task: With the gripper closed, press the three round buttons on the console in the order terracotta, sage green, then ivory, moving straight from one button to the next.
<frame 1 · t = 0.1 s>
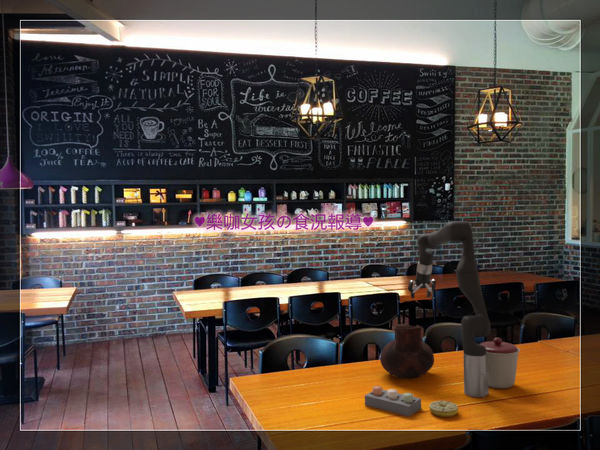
hand: (420, 297, 278), 31 cm above the table, tool tilted 20°, fingers open, 8 cm apart
console: (392, 406, 212), on the table
jug: (407, 375, 250), on the table
terracotta button: (377, 392, 216), point 4 cm above the table, slide at 0.0 cm
ivory button: (392, 396, 211), point 4 cm above the table, slide at 0.0 cm
sage button: (408, 399, 207), point 4 cm above the table, slide at 0.0 cm
canister: (498, 385, 233), on the table
decorated donut: (443, 413, 204), on the table
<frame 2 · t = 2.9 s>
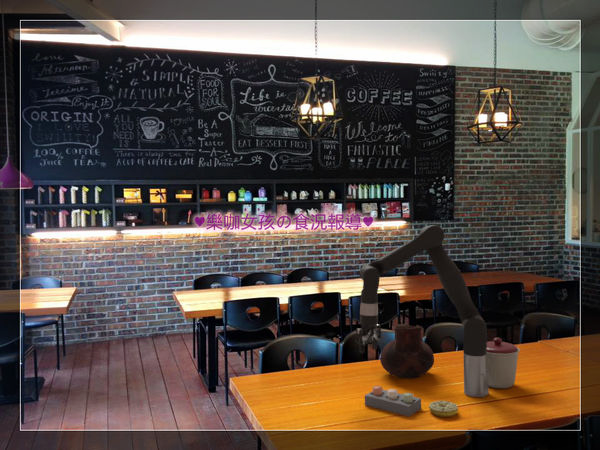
hand: (368, 350, 224), 19 cm above the table, tool pointing down, fingers open, 8 cm apart
nothing on the table moved.
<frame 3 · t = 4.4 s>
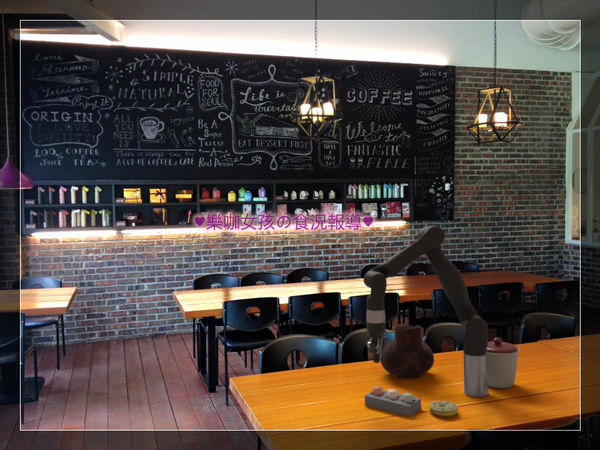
hand: (376, 362, 215), 17 cm above the table, tool pointing down, fingers closed
nothing on the table moved.
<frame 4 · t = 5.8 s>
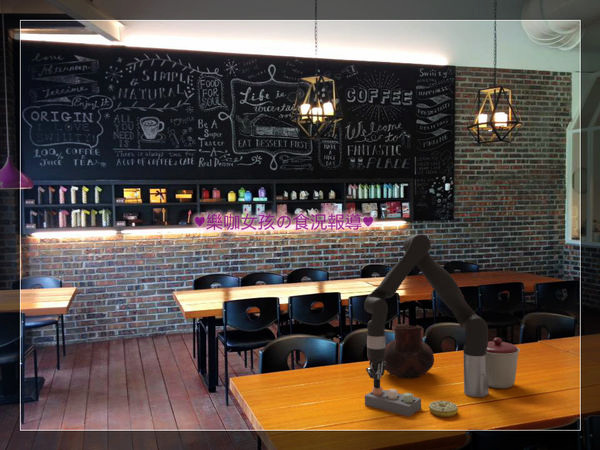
hand: (377, 387, 216), 6 cm above the table, tool pointing down, fingers closed
terracotta button: (377, 392, 216), point 4 cm above the table, slide at 0.0 cm, touching gripper
everything else where it was.
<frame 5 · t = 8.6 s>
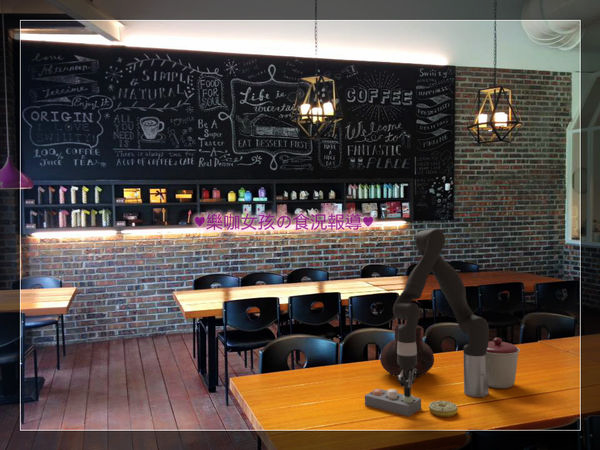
hand: (407, 395, 207), 6 cm above the table, tool pointing down, fingers closed
terracotta button: (377, 395, 216), point 3 cm above the table, slide at 1.3 cm
sage button: (408, 401, 207), point 4 cm above the table, slide at 0.6 cm, touching gripper
everything else where it was.
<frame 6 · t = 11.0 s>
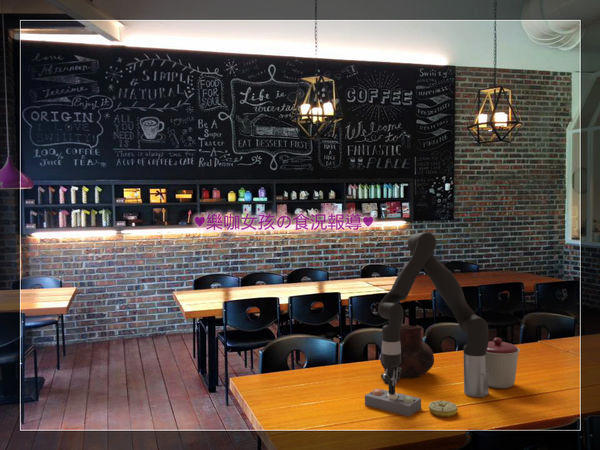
hand: (392, 394, 212), 5 cm above the table, tool pointing down, fingers closed
ivory button: (392, 399, 211), point 3 cm above the table, slide at 1.3 cm, touching gripper
sage button: (408, 403, 207), point 3 cm above the table, slide at 1.4 cm
everything else where it was.
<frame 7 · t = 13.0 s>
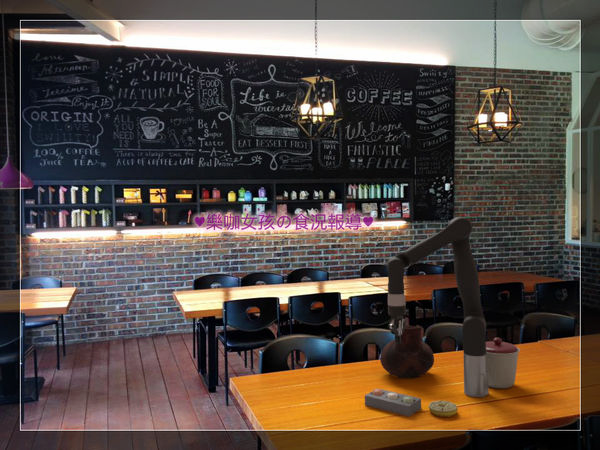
hand: (398, 343, 228), 21 cm above the table, tool pointing down, fingers closed
ivory button: (392, 399, 212), point 3 cm above the table, slide at 1.4 cm
everything else where it was.
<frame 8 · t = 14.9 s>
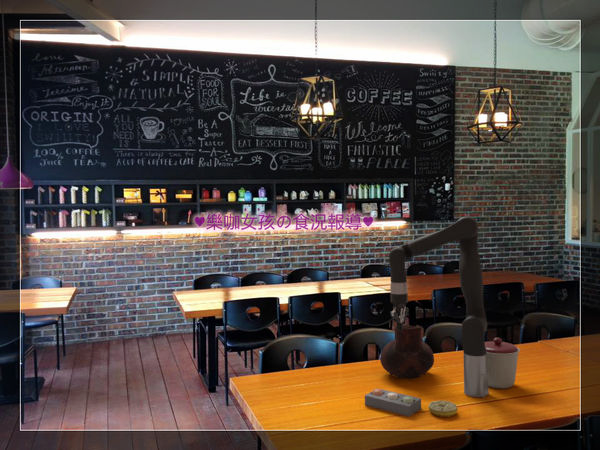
hand: (399, 330, 234), 25 cm above the table, tool pointing down, fingers closed
nothing on the table moved.
at the end: terracotta button slide at 1.3 cm; sage button slide at 1.4 cm; ivory button slide at 1.4 cm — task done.
